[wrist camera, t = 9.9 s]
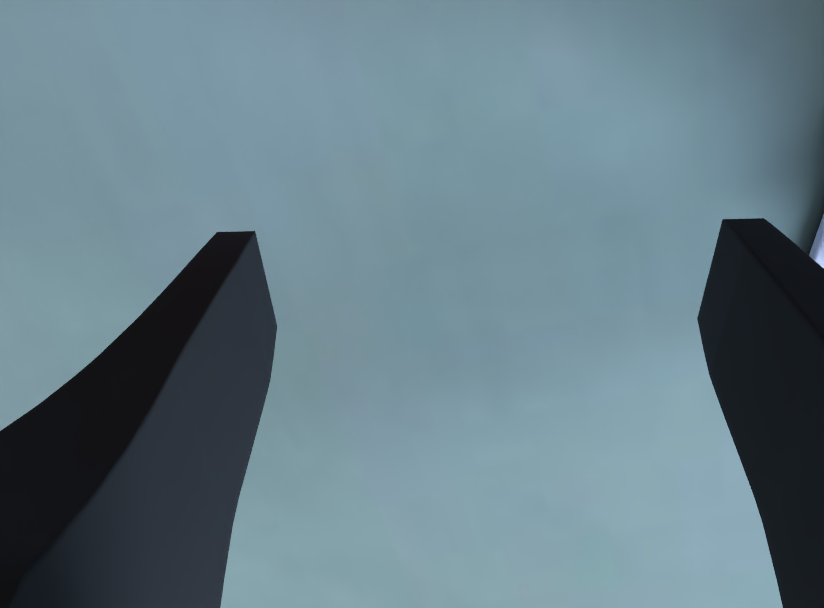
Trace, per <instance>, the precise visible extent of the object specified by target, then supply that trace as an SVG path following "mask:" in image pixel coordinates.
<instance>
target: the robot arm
mask: <svg viewBox="0 0 824 608" xmlns="http://www.w3.org/2000/svg"><path fill="white" fill-rule="evenodd" d="M698 324H699V329H700V334H701V339H702V344H703V349H704V353H705V358H706V362H707V366H708V371H709V375H710V378H711V381H712V384H713V386H714V389H715V392H716V395H717V398H718V400H719V403H720V406H721V409H722V411H723V414H724V417H725V419H726V422H727V425H728V428H729V430H730V433H731V436H732V438H733V441H734V444H735V446H736V449H737V452H738V454H739V457H740V460H741V462H742V465H743V468H744V470H745V473H746V476H747V478H748V481H749V484H750V486H751V489H752V492H753V494H754V497H755V501H756V504H757V507H758V510H759V513H760V516H761V519H762V522H763V526H764V530H765V534H766V538H767V542H768V546H769V550H770V554H771V558H772V562H773V566H774V570H775V574H776V578H777V583H778V587H779V592H780V596H781V601H782V605H783V608H824V215H823V217H822V220H821V223H820V226H819V229H818V231H817V234H816V237H815V240H814V243H813V245H812V248H811V251H810V254H809V256H808V255H807V254H806V253H805V252H804V251H803V250H801V249H800V248H799V247H798V246H797V245H796V244H795V243H793V242H792V241H791V240H790V239H789V238H788V237H786V236H785V235H784V234H783V233H782V232H780V231H779V230H778V229H777V228H776V227H774V226H773V225H772V224H771V223H769V222H768V221H767V220H765V219H764V218H761V219H723V220H722V224H721V228H720V232H719V236H718V240H717V244H716V248H715V252H714V256H713V260H712V264H711V268H710V272H709V275H708V279H707V283H706V287H705V291H704V295H703V299H702V303H701V307H700V311H699V315H698ZM276 331H277V324H276V319H275V315H274V311H273V307H272V302H271V298H270V294H269V289H268V285H267V281H266V276H265V272H264V268H263V263H262V259H261V255H260V251H259V246H258V242H257V238H256V233H255V231H245V232H217V233H216V234H215V235H214V236H213V237H212V238H211V239H210V240H209V241H208V243H207V244H206V245H205V246H204V247H203V248H202V249H201V250H200V251H199V252H198V253H197V254H196V256H195V257H194V258H193V259H192V260H191V261H190V262H189V263H188V265H187V266H186V267H185V268H184V269H183V270H182V271H181V272H180V273H179V274H178V276H177V277H176V278H175V279H174V280H173V281H172V282H171V283H170V284H169V286H168V287H167V288H166V289H165V290H164V291H163V292H162V293H161V294H160V295H159V296H158V297H157V298H156V299H155V300H154V301H153V303H152V304H151V305H150V306H149V307H148V308H147V309H146V310H145V311H144V312H143V313H142V314H141V315H140V316H139V317H138V318H137V319H136V320H135V321H134V322H133V323H132V324H131V325H130V326H129V327H128V328H127V329H126V330H125V331H124V332H123V333H122V334H121V335H120V336H119V337H118V338H117V339H115V340H114V341H113V342H112V343H111V344H110V345H109V346H108V347H107V348H106V349H105V350H104V351H103V352H102V353H101V354H100V355H99V356H98V357H96V358H95V359H94V360H93V361H92V362H91V363H90V364H89V365H87V366H86V367H85V368H84V369H83V370H81V371H80V372H79V373H78V374H77V375H76V376H74V377H73V378H72V379H71V380H69V381H68V382H67V383H66V384H64V385H63V386H62V387H61V388H59V389H58V390H57V391H56V392H54V393H53V394H52V395H50V396H49V397H48V398H47V399H45V400H44V401H43V402H41V403H40V404H39V405H37V406H36V407H35V408H33V409H32V410H30V411H29V412H27V413H26V414H24V415H23V416H22V417H20V418H19V419H17V420H16V421H14V422H13V423H11V424H10V425H9V426H7V427H6V428H4V429H3V430H1V431H0V608H220V605H221V598H222V591H223V583H224V577H225V570H226V564H227V558H228V551H229V545H230V539H231V532H232V526H233V521H234V517H235V512H236V508H237V503H238V499H239V495H240V491H241V487H242V484H243V480H244V476H245V473H246V469H247V465H248V462H249V458H250V454H251V451H252V447H253V443H254V440H255V436H256V432H257V429H258V425H259V421H260V417H261V414H262V410H263V406H264V402H265V399H266V395H267V391H268V387H269V383H270V378H271V370H272V363H273V356H274V348H275V339H276Z"/></svg>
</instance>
